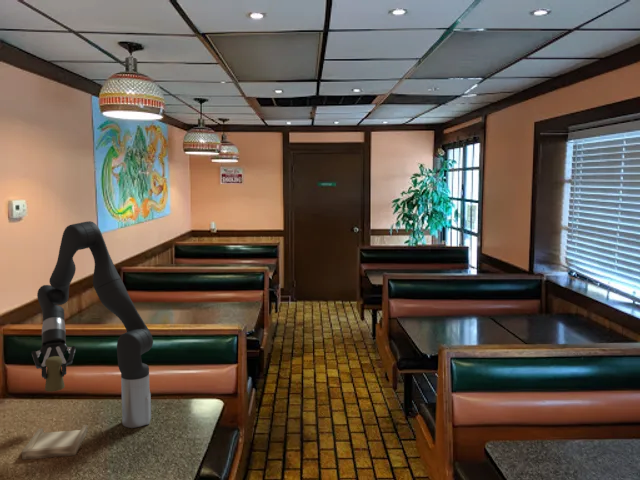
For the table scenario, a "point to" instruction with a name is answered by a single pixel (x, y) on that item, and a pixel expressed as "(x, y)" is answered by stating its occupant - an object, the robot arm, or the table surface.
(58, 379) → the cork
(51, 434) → the beige square tray
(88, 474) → the table surface
